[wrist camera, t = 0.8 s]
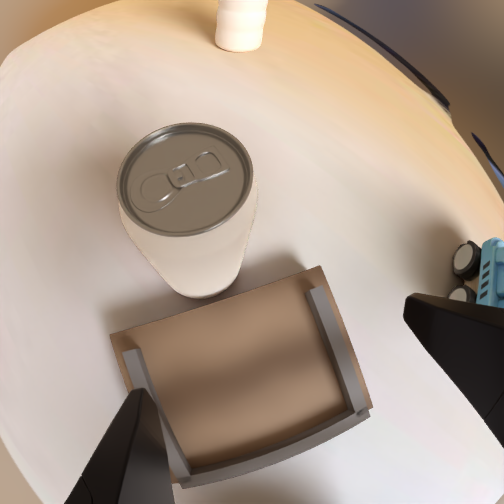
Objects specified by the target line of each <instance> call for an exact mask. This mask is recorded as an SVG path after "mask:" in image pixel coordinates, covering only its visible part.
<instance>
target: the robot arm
mask: <svg viewBox="0 0 504 504" xmlns="http://www.w3.org/2000/svg"><path fill="white" fill-rule="evenodd" d="M403 318H404V321H405V322H406V324H407V325H408V326H409V328H410V329H411V330H412V332H413V333H414V334H415V336H416V337H417V339H418V340H419V341H420V343H421V344H422V345H423V347H424V348H425V349H426V351H427V352H428V353H429V354H430V355H431V356H432V358H433V359H434V360H435V361H436V362H437V363H438V365H439V366H440V367H441V368H442V369H443V370H444V372H445V373H446V374H447V375H448V376H449V378H450V379H451V380H452V381H453V382H454V384H455V385H456V386H457V387H458V388H459V390H460V391H461V392H462V393H463V395H464V396H465V397H466V398H467V400H468V401H469V402H470V403H471V405H472V406H473V407H474V408H475V410H476V411H477V412H478V414H479V415H480V416H481V418H482V419H483V420H484V422H485V423H486V425H487V426H488V427H489V429H490V430H491V431H492V433H493V434H494V435H495V437H496V438H497V440H498V441H499V443H500V444H501V445H502V447H503V448H504V308H500V307H499V308H498V307H494V306H488V305H482V304H477V303H471V302H465V301H459V300H454V299H448V298H443V297H437V296H431V295H426V294H420V293H413V294H411V295H409V296H408V297H407V298H406V300H405V307H404V313H403ZM64 504H175V502H174V496H173V490H172V484H171V477H170V470H169V462H168V455H167V449H166V445H165V440H164V436H163V432H162V427H161V422H160V417H159V412H158V408H157V405H156V403H155V402H154V400H153V399H152V397H151V396H150V394H149V393H148V391H147V390H146V389H145V388H143V387H142V388H136V389H132V390H131V391H130V393H129V394H128V396H127V398H126V399H125V401H124V403H123V404H122V406H121V407H120V409H119V411H118V412H117V414H116V416H115V417H114V419H113V421H112V422H111V424H110V426H109V427H108V429H107V431H106V433H105V434H104V436H103V438H102V439H101V441H100V443H99V445H98V446H97V448H96V450H95V451H94V453H93V455H92V457H91V458H90V460H89V462H88V464H87V465H86V467H85V469H84V471H83V473H82V476H80V478H79V479H78V481H77V483H76V485H75V487H74V488H73V490H72V492H71V493H70V495H69V497H68V498H67V500H66V501H65V503H64Z"/></svg>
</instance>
